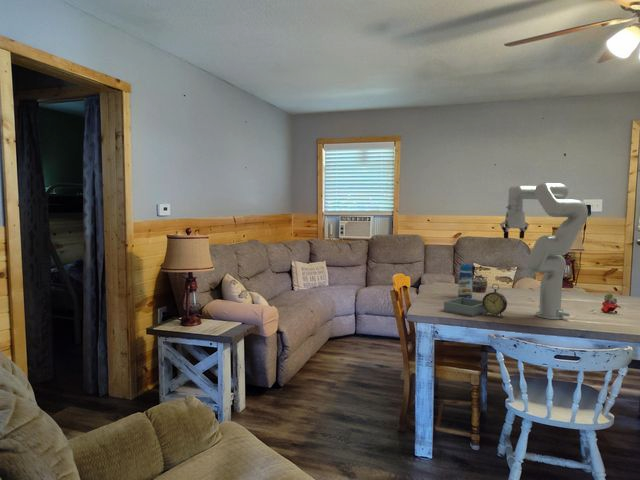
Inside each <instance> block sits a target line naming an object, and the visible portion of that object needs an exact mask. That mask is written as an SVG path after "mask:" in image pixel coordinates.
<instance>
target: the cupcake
mask: <svg viewBox="0 0 640 480" xmlns="http://www.w3.org/2000/svg"><path fill="white" fill-rule="evenodd" d="M487 288H488V280H487V278H486V276H480V275H479V276H476V278H475V279H473V285H472V293H479V294H483V293H485V294H486V292H487Z"/></svg>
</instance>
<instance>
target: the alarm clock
mask: <svg viewBox="0 0 640 480" xmlns="http://www.w3.org/2000/svg"><path fill="white" fill-rule="evenodd" d="M495 285H496V286H497V289H496V288H494V286H495ZM491 288H492V289H493V292H488V293H485V295H484V296H483V298H482V301H483V307H484V309H485V310H486V311H487V312H486V313H484V315H486V316H487V314H490V315H496V316H498V315H499V316H501V318H502V319H503V318H504V316H503V314H502V313H504V312H505V311H506V309H507V307H508V301H507V298H506V297H505V295H504V294H502V293H500V292H497V291H498V290H499V289H500V285H498V284H497V283H494V284H492V286H491Z"/></svg>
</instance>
